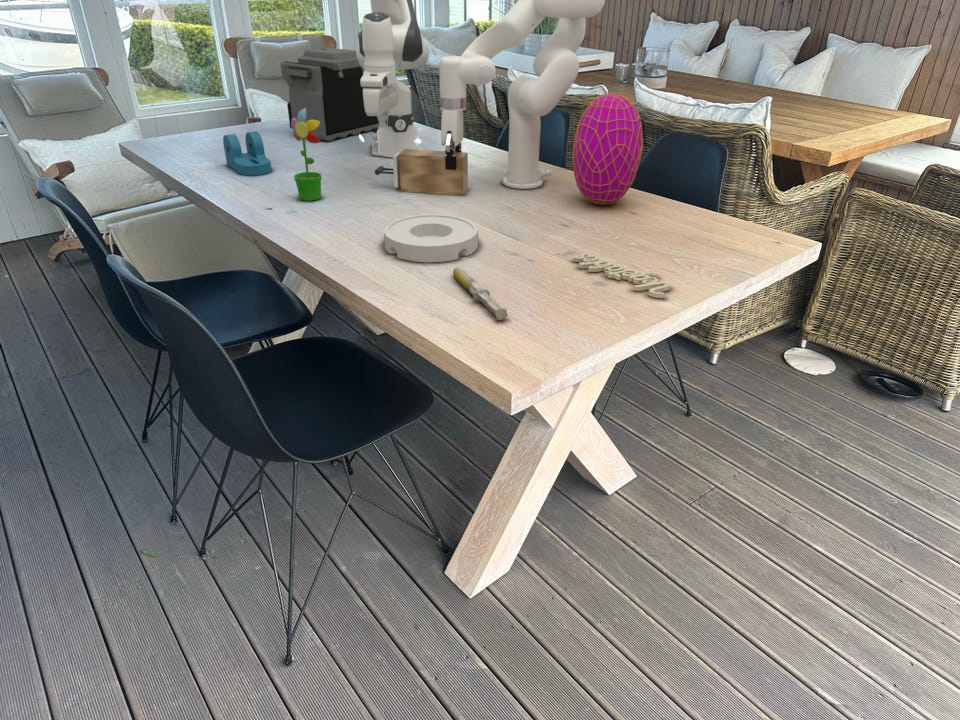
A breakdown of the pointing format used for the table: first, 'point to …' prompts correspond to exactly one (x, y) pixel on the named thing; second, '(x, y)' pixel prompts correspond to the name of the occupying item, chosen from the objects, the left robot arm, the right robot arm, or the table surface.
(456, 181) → the tan elongated box
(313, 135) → the potted flower
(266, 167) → the camera mount
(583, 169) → the decorative egg
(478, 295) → the syringe
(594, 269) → the decorative sign
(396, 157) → the drawer
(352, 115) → the electronic device
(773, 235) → the table surface
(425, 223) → the ashtray
